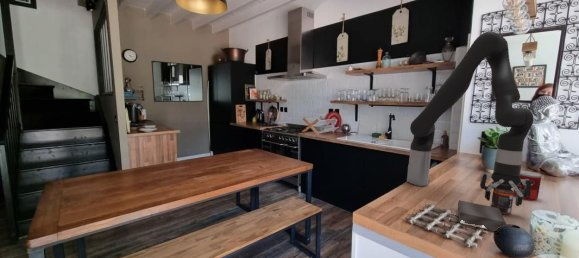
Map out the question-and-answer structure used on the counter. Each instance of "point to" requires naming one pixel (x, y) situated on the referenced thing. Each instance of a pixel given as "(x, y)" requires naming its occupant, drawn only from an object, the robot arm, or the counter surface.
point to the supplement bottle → (503, 198)
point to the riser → (480, 215)
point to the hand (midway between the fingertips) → (502, 202)
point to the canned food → (535, 184)
